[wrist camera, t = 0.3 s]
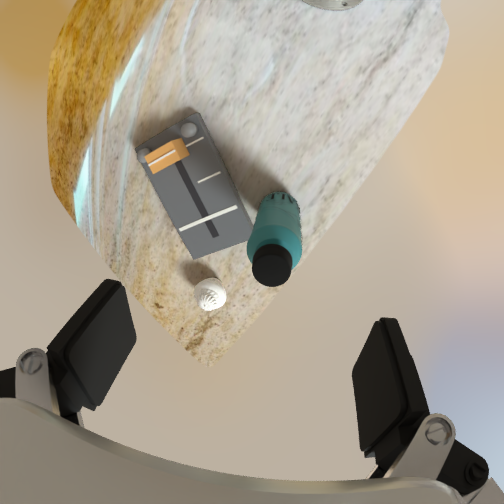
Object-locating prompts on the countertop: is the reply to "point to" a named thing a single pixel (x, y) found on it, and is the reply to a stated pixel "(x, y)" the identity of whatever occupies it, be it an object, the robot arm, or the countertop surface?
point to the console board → (198, 190)
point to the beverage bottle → (275, 239)
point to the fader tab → (167, 155)
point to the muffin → (210, 294)
